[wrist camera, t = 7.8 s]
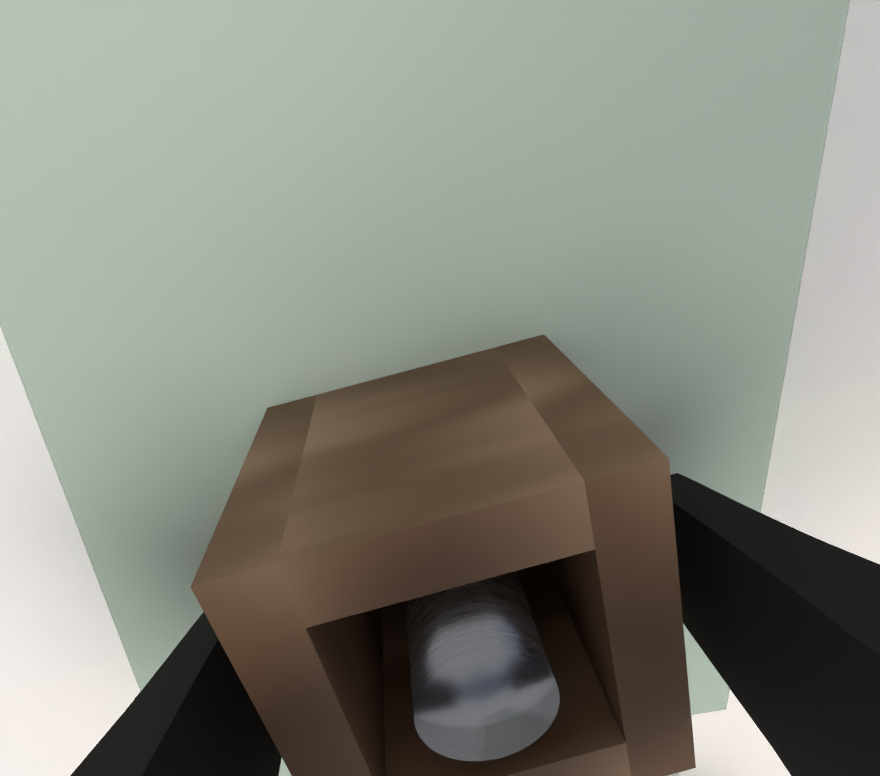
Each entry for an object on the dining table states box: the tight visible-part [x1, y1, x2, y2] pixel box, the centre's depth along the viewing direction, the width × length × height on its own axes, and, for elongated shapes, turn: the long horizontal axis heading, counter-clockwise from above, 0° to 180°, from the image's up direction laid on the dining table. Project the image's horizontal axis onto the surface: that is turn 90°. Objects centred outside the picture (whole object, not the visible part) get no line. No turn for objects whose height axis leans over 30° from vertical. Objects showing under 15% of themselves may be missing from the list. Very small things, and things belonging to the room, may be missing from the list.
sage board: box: [0, 0, 850, 776], centre depth 12 cm, size 15×20×1 cm
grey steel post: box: [405, 571, 560, 761], centre depth 10 cm, size 2×2×5 cm
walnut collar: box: [191, 334, 696, 776], centre depth 10 cm, size 6×6×5 cm
